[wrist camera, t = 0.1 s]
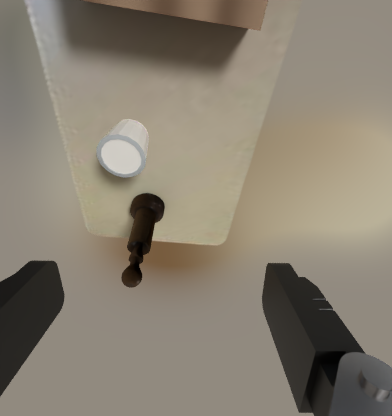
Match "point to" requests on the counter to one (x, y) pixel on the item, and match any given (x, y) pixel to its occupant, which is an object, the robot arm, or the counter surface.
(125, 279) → the brown wooden tall figure
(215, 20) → the walnut pocket board
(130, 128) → the white cup
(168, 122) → the counter surface
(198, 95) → the counter surface
